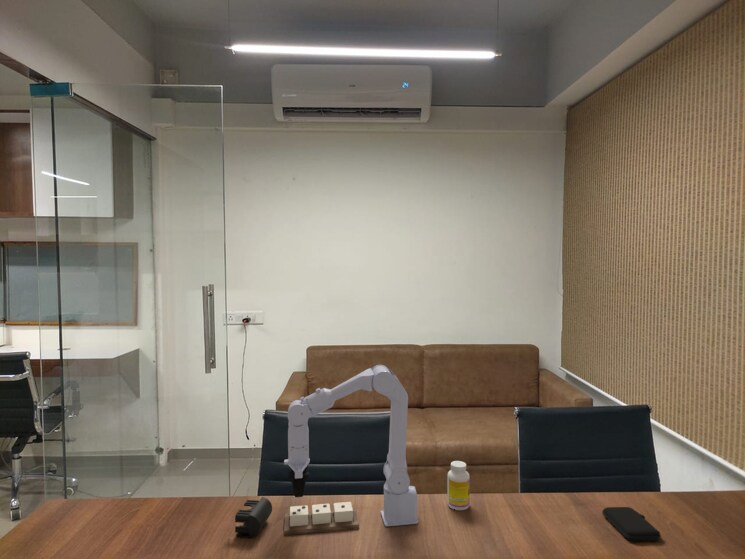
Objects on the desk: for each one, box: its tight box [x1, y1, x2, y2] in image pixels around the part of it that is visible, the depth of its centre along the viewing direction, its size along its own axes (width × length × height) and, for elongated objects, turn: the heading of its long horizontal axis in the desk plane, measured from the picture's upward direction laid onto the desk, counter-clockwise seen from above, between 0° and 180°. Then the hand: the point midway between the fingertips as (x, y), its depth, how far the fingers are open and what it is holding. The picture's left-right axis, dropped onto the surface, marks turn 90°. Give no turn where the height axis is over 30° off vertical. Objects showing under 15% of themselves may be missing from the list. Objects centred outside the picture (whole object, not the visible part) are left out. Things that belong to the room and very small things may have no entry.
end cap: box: [234, 496, 273, 540], centre depth 130 cm, size 10×7×7 cm
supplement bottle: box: [446, 460, 471, 511], centre depth 142 cm, size 7×7×13 cm
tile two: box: [311, 503, 331, 525], centre depth 133 cm, size 5×5×3 cm
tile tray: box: [283, 507, 360, 536], centre depth 133 cm, size 20×9×1 cm, turn 99°
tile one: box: [333, 501, 353, 523], centre depth 134 cm, size 5×5×3 cm
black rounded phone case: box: [602, 506, 662, 543], centre depth 130 cm, size 11×3×15 cm
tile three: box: [289, 505, 309, 527], centre depth 132 cm, size 5×5×3 cm
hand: (298, 492), depth 132 cm, fingers open, 4 cm apart
